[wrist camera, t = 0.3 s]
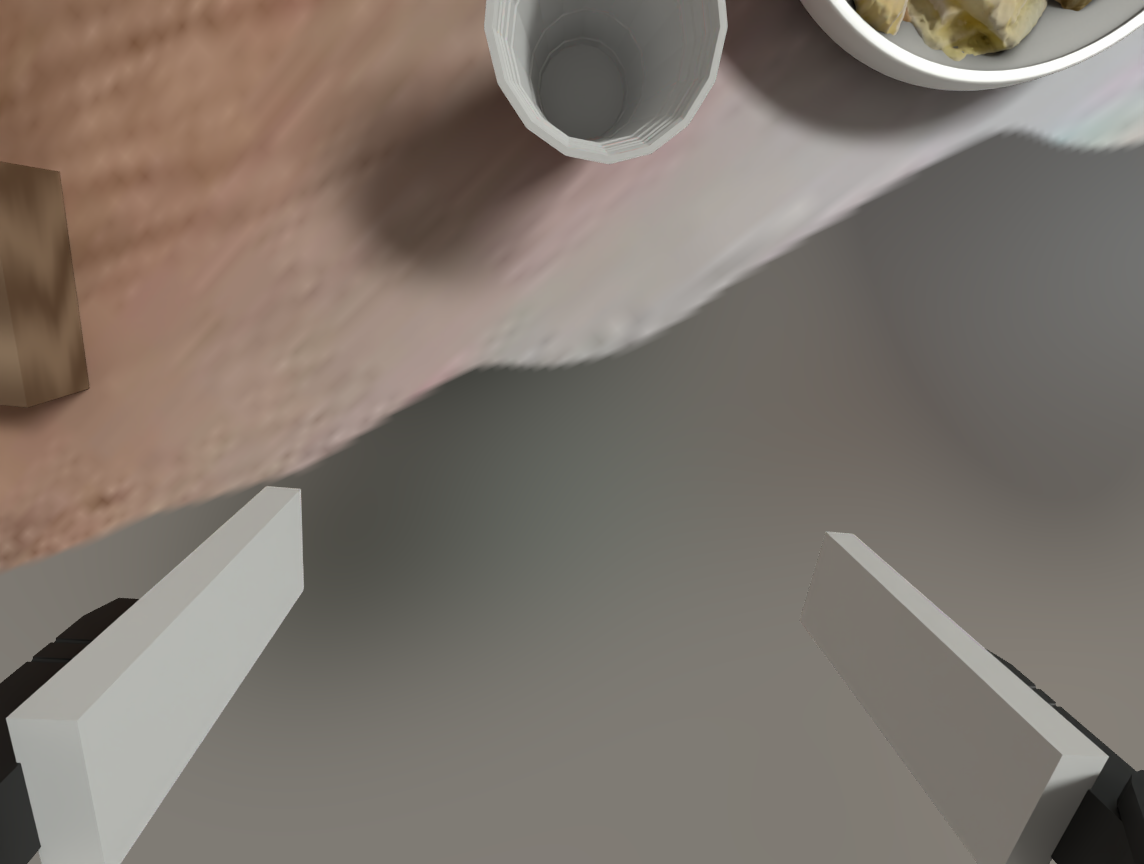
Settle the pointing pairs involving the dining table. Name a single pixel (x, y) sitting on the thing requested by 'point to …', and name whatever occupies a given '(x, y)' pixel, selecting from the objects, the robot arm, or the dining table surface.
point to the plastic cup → (606, 69)
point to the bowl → (974, 37)
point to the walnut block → (37, 291)
